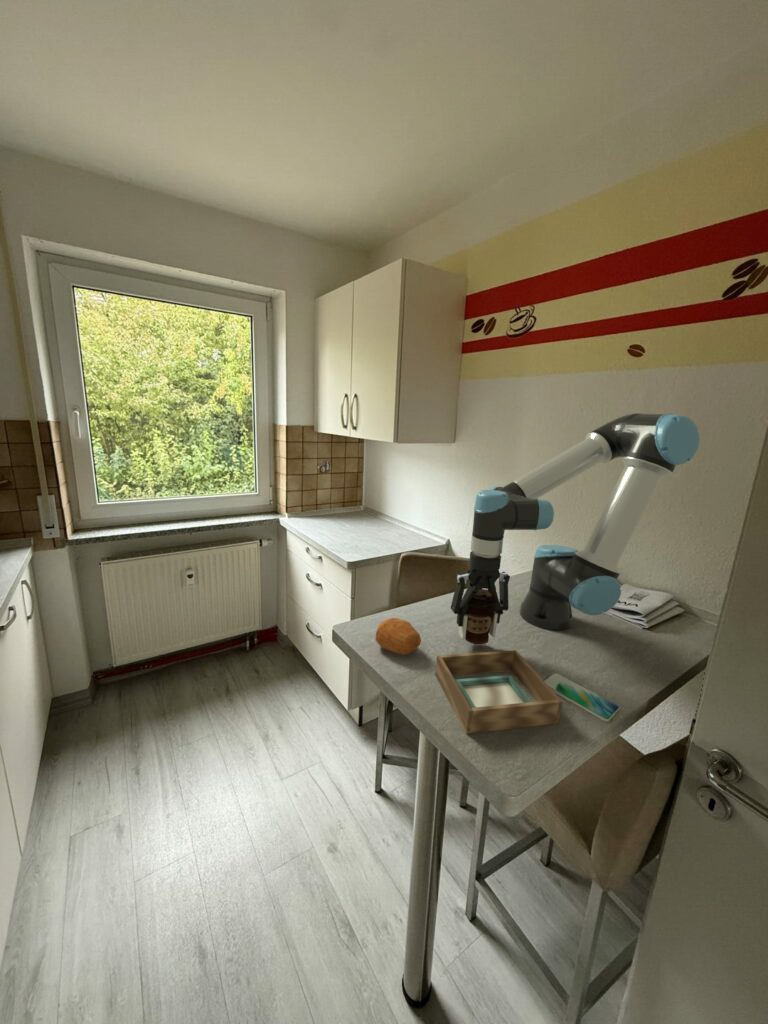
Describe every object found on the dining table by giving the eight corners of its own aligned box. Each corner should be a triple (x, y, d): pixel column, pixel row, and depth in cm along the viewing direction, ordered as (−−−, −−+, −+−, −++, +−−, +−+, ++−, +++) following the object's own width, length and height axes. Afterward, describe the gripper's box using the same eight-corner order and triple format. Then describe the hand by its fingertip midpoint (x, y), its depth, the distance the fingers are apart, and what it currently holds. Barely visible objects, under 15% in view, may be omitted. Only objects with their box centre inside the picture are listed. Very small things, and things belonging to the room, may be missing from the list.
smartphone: (554, 671, 98) (621, 706, 88) (553, 674, 99) (620, 710, 88) (539, 681, 94) (607, 720, 83) (538, 685, 94) (606, 724, 83)
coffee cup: (493, 651, 102) (499, 603, 99) (459, 646, 103) (464, 599, 100) (491, 633, 110) (496, 588, 107) (460, 628, 112) (464, 584, 108)
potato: (394, 634, 111) (396, 609, 109) (426, 652, 103) (429, 626, 101) (370, 646, 104) (371, 619, 102) (402, 667, 97) (405, 638, 95)
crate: (512, 668, 99) (515, 650, 98) (558, 723, 82) (562, 701, 81) (434, 674, 94) (437, 655, 93) (466, 733, 77) (469, 711, 76)
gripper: (515, 546, 107) (505, 625, 112) (441, 548, 102) (434, 630, 108) (531, 556, 99) (519, 639, 105) (452, 559, 95) (444, 646, 101)
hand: (476, 635), depth 106 cm, fingers closed on coffee cup, 8 cm apart
